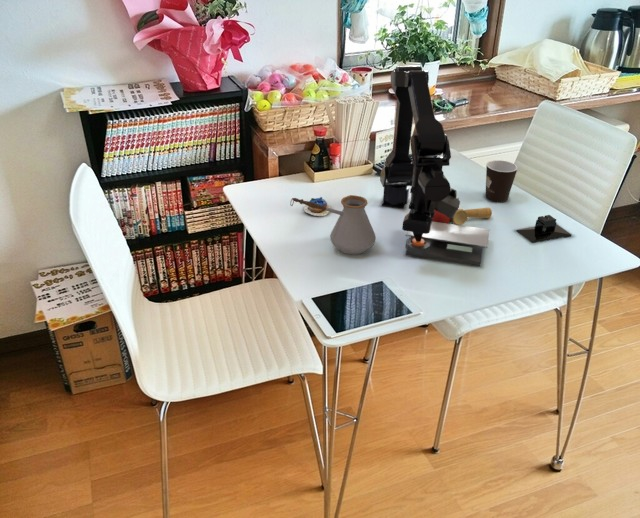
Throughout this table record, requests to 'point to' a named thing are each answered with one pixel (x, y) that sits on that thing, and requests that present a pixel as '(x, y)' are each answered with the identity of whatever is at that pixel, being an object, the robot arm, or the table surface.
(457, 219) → the kendama
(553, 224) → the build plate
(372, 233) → the coffee pot
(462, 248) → the scale display
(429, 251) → the scale
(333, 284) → the table surface
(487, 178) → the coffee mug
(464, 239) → the pan
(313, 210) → the dessert
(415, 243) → the button
